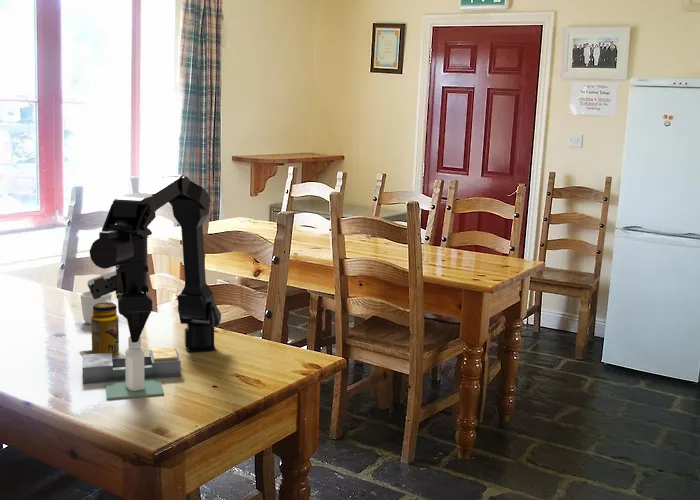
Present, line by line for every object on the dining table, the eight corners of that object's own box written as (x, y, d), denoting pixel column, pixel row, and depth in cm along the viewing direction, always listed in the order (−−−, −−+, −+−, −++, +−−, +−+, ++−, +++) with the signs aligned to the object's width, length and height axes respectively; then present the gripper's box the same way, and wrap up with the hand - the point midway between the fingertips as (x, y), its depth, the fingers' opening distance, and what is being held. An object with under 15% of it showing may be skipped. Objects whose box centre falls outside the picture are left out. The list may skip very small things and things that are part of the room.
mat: (160, 380, 155) (159, 378, 155) (164, 395, 147) (164, 393, 147) (105, 384, 151) (105, 382, 151) (106, 399, 143) (106, 398, 143)
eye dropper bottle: (120, 391, 147) (120, 334, 144) (127, 382, 152) (126, 326, 150) (142, 392, 147) (142, 335, 145) (148, 382, 152) (148, 327, 150)
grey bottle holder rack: (176, 363, 166) (176, 346, 166) (180, 376, 158) (180, 358, 157) (83, 369, 160) (82, 351, 159) (82, 383, 151) (82, 364, 151)
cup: (125, 323, 197) (124, 294, 196) (101, 329, 191) (100, 300, 189) (99, 316, 203) (98, 288, 202) (74, 322, 196) (73, 293, 195)
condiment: (124, 356, 170) (123, 306, 168) (86, 361, 166) (85, 310, 164) (115, 347, 176) (114, 299, 174) (79, 352, 171) (77, 303, 170)
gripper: (89, 252, 151) (91, 325, 153) (89, 270, 133) (91, 352, 136) (145, 251, 154) (145, 323, 157) (152, 268, 137) (152, 348, 139)
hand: (133, 335), depth 147 cm, fingers open, 9 cm apart
